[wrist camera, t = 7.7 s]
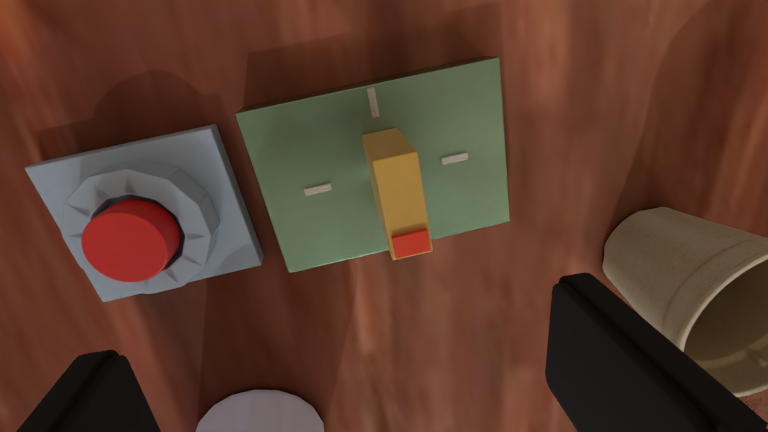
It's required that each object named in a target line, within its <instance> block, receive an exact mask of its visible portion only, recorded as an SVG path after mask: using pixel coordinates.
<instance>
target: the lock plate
mask: <svg viewBox="0 0 768 432" xmlns="http://www.w3.org/2000/svg"><path fill="white" fill-rule="evenodd" d="M235 117H236V120H237V122H238V125H239V128H240V131H241V134H242V137H243V140H244V143H245V146H246V149H247V152H248V155H249V158H250V161H251V164H252V167H253V170H254V173H255V176H256V179H257V181H258V184H259V187H260V190H261V193H262V196H263V199H264V202H265V205H266V208H267V211H268V214H269V217H270V220H271V223H272V226H273V229H274V232H275V235H276V237H277V240H278V243H279V246H280V249H281V252H282V255H283V258H284V261H285V264H286V267H287V270H288V272H289V273H293V272H297V271H302V270H306V269H310V268H314V267H319V266H323V265H327V264H331V263H336V262H340V261H344V260H348V259H352V258H357V257H361V256H365V255H369V254H374V253H378V252H382V251H386V250H389V248H388V244H387V241H386V238H385V235H384V232H383V229H382V226H381V223H380V219H379V216H378V212H377V207H376V203H375V198H374V193H373V189H372V184H371V179H370V174H369V170H368V165H367V160H366V156H365V151H364V146H363V141H362V137H361V136H362V135H364V134H369V133H374V132H378V131H383V130H387V129H392V128H397V129H398V131H399V132H400V133H401V134H402V135H403V136H404V137H405V138H406V139H407V141H408V142H409V143H410V144H411V145H412V146H413V147H414V148H415V149H416V151H417V152H418V158H419V164H420V170H421V177H422V183H423V190H424V196H425V203H426V209H427V215H428V222H429V228H430V235H431V240H433V239H437V238H441V237H446V236H450V235H454V234H458V233H463V232H467V231H471V230H475V229H480V228H484V227H488V226H492V225H496V224H501V223H505V222H509V221H510V211H509V195H508V180H507V164H506V149H505V133H504V118H503V102H502V87H501V71H500V58H499V57H491V56H483V57H478V58H473V59H469V60H464V61H459V62H454V63H450V64H445V65H440V66H436V67H431V68H426V69H422V70H417V71H412V72H408V73H403V74H398V75H394V76H389V77H384V78H380V79H375V80H370V81H365V82H361V83H356V84H351V85H347V86H342V87H337V88H333V89H328V90H323V91H319V92H314V93H309V94H305V95H300V96H295V97H291V98H286V99H281V100H276V101H272V102H267V103H262V104H258V105H253V106H248V107H244V108H242V109H241V110H239V111H238V112H237V113H235Z"/></svg>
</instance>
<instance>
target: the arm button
mask: <svg viewBox="0 0 768 432" xmlns="http://www.w3.org/2000/svg"><path fill="white" fill-rule="evenodd" d="M179 243H180V232H179V228H178V225H177V223H176V221H175V220H174V218H173V217H172V216H171V215H170V214H169V213H168V212H167V211H166V210H165V209H164V208H162V207H161V206H159V205H157V204H155V203H153V202H150V201H146V200H141V199H127V200H122V201H119V202H117V203H114V204H113V205H111V206H110V207H108V208H107V209H106V210H104V211H103V212H102V213H100V214H99V215H98V216H96V217H95V218H94V219H92V220H91V221H90V222H89V223H88V224H87V225H86V227H85V229H84V231H83V234H82V239H81V245H82V250H83V253H84V255H85V257H86V259H87V260H88V262H89V263H90V264H91V265H92V266H93V267H94V268H95V269H96V270H97V271H98V272H100V273H101V274H103V275H105V276H107V277H109V278H111V279H114V280H117V281H122V282H141V281H145V280H148V279H150V278H153V277H154V276H156V275H157V274H159V273H160V272H161V271H162V270H163V269H164V267H165V266H166V264H167V263H168V262H169V260H170V259H171V258H172V256H173V255H174V254H175V252H176V251H177V249H178V246H179Z"/></svg>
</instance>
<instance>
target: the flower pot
mask: <svg viewBox="0 0 768 432" xmlns="http://www.w3.org/2000/svg"><path fill="white" fill-rule="evenodd" d="M602 268H603V271H604V273H605V275H606V276H607V278H608V279H609V280H610V281H611V282H612V283H613V284H614V286H615V287H616V288H617V289H618V290H619V291H620V293H621V294H622V295H623V296H624V297H625V298H626V299H627V301H628V302H629V303H630V304H631V305H632V306H633V308H634V309H635V310H636V311H637V312H638V313H639V315H640V316H641V317H643V318H644V319H645V320H646V321H647V322H648V323H650V324H651V325H652V326H653V327H654V328H656V329H657V330H658V331H659V332H660V333H661V334H663V335H664V336H665V337H666V338H667V339H669V340H670V341H671V342H672V343H673V344H674V345H676V346H677V347H678V348H679V349H680V350H682V351H683V352H684V353H685V354H686V355H687V356H689V357H690V358H691V359H692V360H693V361H695V362H696V363H697V364H698V365H699V366H700V367H702V368H703V369H704V370H705V371H706V372H708V373H709V374H710V375H711V376H712V377H713V378H715V379H716V380H717V381H718V382H719V383H721V384H722V385H723V386H724V387H725V388H726V389H728V390H729V391H730V392H731V393H732V394H734V395H735V396H736V397H742V396H747V395H751V394H754V393H757V392H760V391H762V390H766V389H767V388H768V237H762V236H759V235H755V234H752V233H749V232H745V231H742V230H739V229H735V228H732V227H729V226H725V225H722V224H719V223H715V222H712V221H709V220H706V219H702V218H699V217H695V216H692V215H689V214H686V213H683V212H680V211H677V210H674V209H671V208H667V207H659V208H654V209H649V210H642V211H638V212H636V213H634V214H632V215H631V216H629V217H628V218H626V219H625V220H624V221H623V222H621V223H620V224H619V225H618V226H617V227H616V229H615V230H614V231H613V232H612V233H611V235H610V236H609V238H608V240H607V242H606V244H605V246H604V261H603V265H602Z"/></svg>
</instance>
